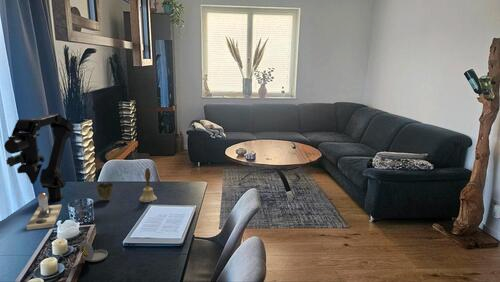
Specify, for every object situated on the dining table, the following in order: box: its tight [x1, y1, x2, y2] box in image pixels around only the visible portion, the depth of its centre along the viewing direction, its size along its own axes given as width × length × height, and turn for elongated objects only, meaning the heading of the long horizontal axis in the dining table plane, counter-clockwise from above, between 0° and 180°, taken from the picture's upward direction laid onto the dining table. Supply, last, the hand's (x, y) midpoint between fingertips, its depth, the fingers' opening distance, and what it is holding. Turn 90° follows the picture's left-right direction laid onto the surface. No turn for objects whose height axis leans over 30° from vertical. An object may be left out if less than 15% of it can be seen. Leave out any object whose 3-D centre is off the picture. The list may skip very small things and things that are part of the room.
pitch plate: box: [26, 204, 63, 231], centre depth 140 cm, size 20×9×3 cm, turn 20°
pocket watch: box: [78, 234, 109, 263], centre depth 110 cm, size 8×8×10 cm
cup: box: [96, 181, 114, 202], centre depth 160 cm, size 8×7×8 cm
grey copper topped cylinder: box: [37, 192, 51, 218], centre depth 138 cm, size 4×4×10 cm
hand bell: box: [138, 167, 158, 203], centre depth 162 cm, size 8×8×16 cm
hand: (33, 182), depth 145 cm, fingers open, 2 cm apart
